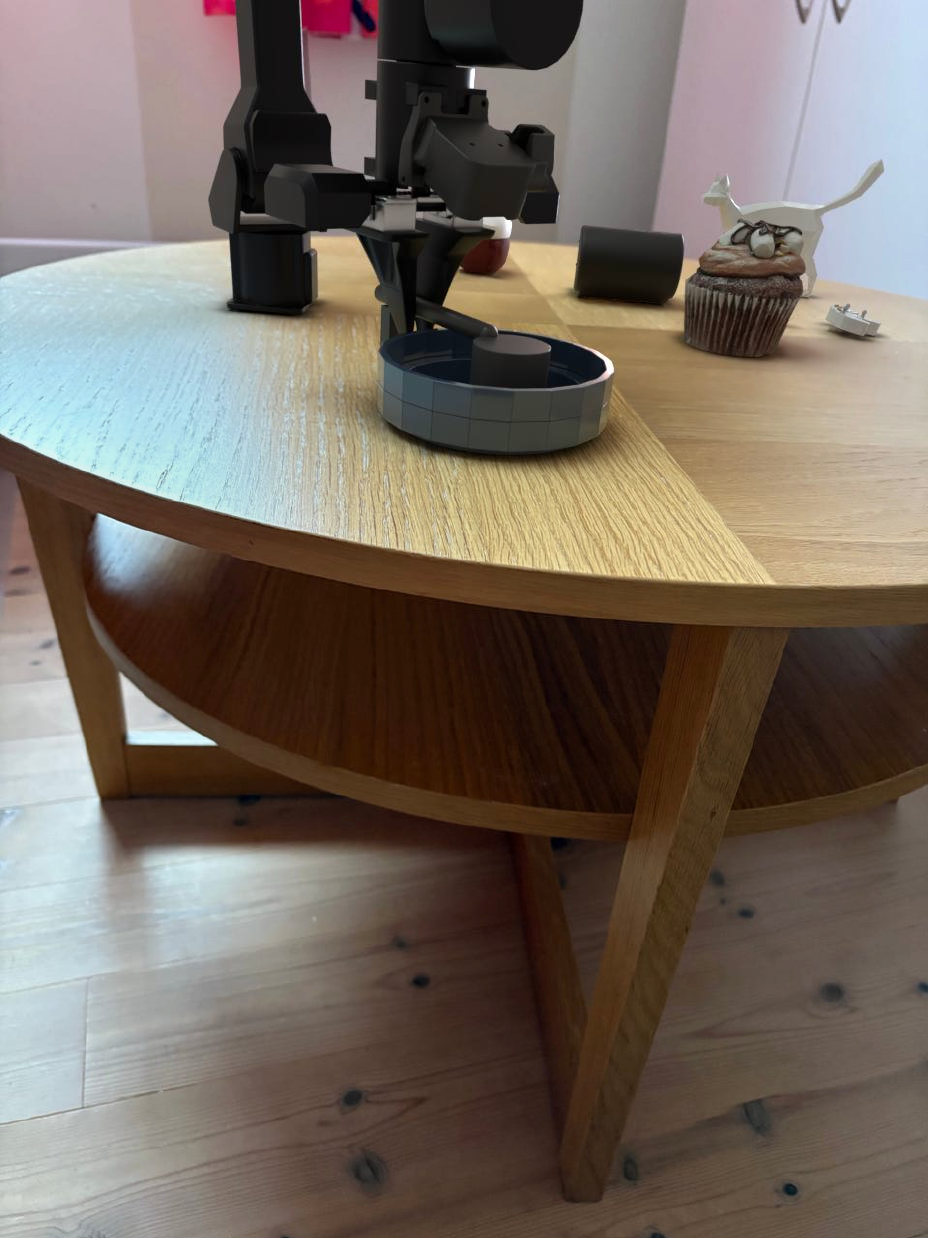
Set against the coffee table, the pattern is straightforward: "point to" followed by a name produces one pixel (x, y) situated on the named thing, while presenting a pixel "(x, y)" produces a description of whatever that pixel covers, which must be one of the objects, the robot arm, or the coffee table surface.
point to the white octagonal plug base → (851, 320)
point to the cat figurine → (787, 213)
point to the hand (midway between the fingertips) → (414, 336)
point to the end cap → (628, 264)
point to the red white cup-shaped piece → (490, 248)
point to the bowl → (491, 395)
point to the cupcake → (745, 290)
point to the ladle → (483, 347)
